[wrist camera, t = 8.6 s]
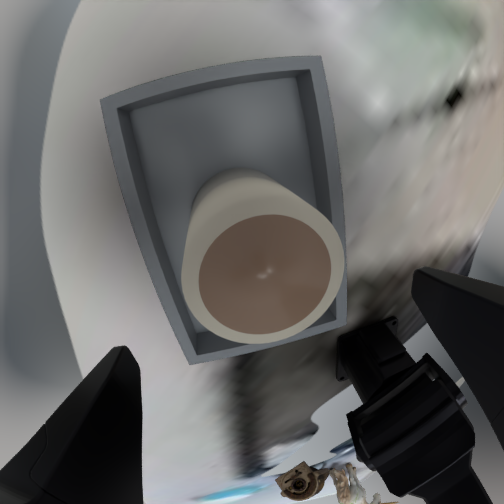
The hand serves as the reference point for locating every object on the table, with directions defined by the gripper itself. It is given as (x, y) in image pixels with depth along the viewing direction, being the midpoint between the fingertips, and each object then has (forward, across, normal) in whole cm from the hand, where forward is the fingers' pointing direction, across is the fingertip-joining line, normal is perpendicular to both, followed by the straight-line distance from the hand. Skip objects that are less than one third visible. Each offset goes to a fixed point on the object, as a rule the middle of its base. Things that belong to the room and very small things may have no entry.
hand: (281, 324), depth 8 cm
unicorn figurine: (+11, -13, +56) cm, 59 cm away
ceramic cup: (+11, 0, 0) cm, 11 cm away
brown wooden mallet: (+11, -1, +48) cm, 49 cm away
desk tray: (+11, 0, 0) cm, 11 cm away
